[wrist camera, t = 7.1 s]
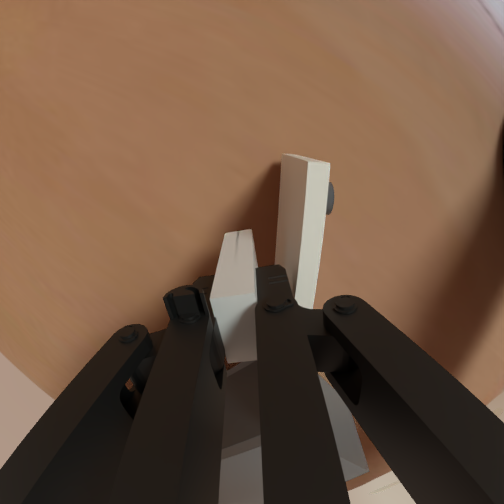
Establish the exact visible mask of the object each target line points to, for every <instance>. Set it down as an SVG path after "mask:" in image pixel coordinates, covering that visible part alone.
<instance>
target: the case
mask: <svg viewBox="0 0 504 504" xmlns="http://www.w3.org/2000/svg"><path fill="white" fill-rule="evenodd" d="M318 376H319V375H318ZM319 380H320V383H321V387H322V391H323V394H324V398H325V402H326V406H327V410H328V413H329V417H330V421H331V425H332V429H333V433H334V437H335V441H336V445H337V449H338V453H339V457H340V461H341V465H342V470H343V474H344V478H345V482H346V481H348V480H351V479H353V478H355V477H358V476H360V475H362V474H365V473H367V472H369V468H368V465H367V461H366V458H365V455H364V452H363V448H362V445H361V442H360V439H359V436H358V433H357V429H356V426H355V423H354V420H353V417H352V414H351V412H350V410H349V409H348V407H347V406H346V405H345V403H344V402H343V400H342V399H341V397H340V396H339V395H338V393H337V392H336V390H335V389H334V388H332V387H331V386H330V385H329V384H328V383H327V382H326V381H325V380H324V379H323V378H322V377H321V376H319ZM218 504H264V499H263V477H262V455H261V434H260V412H259V390H258V369H257V360H254V361H245V362H241V363H239V364H238V365H236V366H234V367H232V368H231V369H229V370H227V383H226V396H225V410H224V424H223V438H222V453H221V469H220V485H219V503H218Z"/></svg>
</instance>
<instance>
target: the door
mask: <svg viewBox="0 0 504 504" xmlns="http://www.w3.org/2000/svg"><path fill="white" fill-rule="evenodd" d="M329 174H330V163H327V162H323V161H320V160H316V159H312V158H308V157H304V156H300V155H295V154H282V157H281V175H280V192H279V208H278V223H277V238H276V252H275V265H277V264H279V265H281V266H282V267H284V268H285V269H286V273H287V276H288V280H289V284H290V287H291V291H292V294H293V298H295V300H296V301H297V302H298V305H300V306H302V307H304V308H308V309H313V303H314V297H315V291H316V284H317V278H318V271H319V264H320V257H321V249H322V241H323V233H324V225H325V216H326V215H329V214H330V213H331V211H332V208H333V204H334V189H333V185H332V183H331V182H329Z"/></svg>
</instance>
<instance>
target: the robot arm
mask: <svg viewBox="0 0 504 504" xmlns="http://www.w3.org/2000/svg"><path fill="white" fill-rule="evenodd" d="M503 157H504V152H503ZM163 300H164V303H165V306H166V309H167V312H168V314H169V317H170V322H169V324H168V327H167V329H164V330H161V331H158V332H154V333H151V334H149V332H148V330H147V328H146V327H145V326H144V325H140V324H132V325H129V326H128V325H127V326H125V327H123V328H121V329H119V330H118V331H117V332H116V333H115V334H114V335H113V336H112V337H111V338H110V339H109V340H108V341H107V342H106V343H105V344H104V345H103V347H102V348H101V349H100V350H99V351H98V352H97V353H96V354H95V355H94V357H93V358H92V359H91V360H90V361H89V362H88V363H87V364H86V365H85V367H84V368H83V369H82V370H81V371H80V372H79V373H78V375H77V376H76V377H75V378H74V379H73V380H72V381H71V383H70V384H69V385H68V386H67V387H66V388H65V390H64V391H63V392H62V393H61V394H60V395H59V397H58V398H57V399H56V400H55V401H54V403H53V404H52V405H51V406H50V407H49V408H48V410H47V411H46V412H45V413H44V414H43V416H42V417H41V418H40V419H39V421H38V422H37V423H36V424H35V425H34V427H33V428H32V429H31V430H30V432H29V433H28V434H27V435H26V437H25V438H24V439H23V441H22V442H21V443H20V444H19V446H18V447H17V448H16V450H15V451H14V452H13V454H12V455H11V456H10V457H9V459H8V460H7V461H6V463H5V464H4V465H3V467H2V468H1V469H0V504H218V503H219V485H220V469H221V453H222V438H223V424H224V410H225V396H226V383H227V370H226V367H225V364H224V358H225V355H226V359H227V362H228V363H236V362H245V361H254V360H257V369H258V390H259V412H260V434H261V455H262V477H263V499H264V504H350V500H349V495H348V491H347V487H346V482H345V478H344V474H343V470H342V465H341V461H340V457H339V453H338V449H337V445H336V441H335V437H334V433H333V429H332V425H331V421H330V417H329V413H328V410H327V406H326V402H325V398H324V394H323V391H322V387H321V383H320V380H319V376H318V372H324V373H325V375H326V377H327V379H328V380H329V382H330V383H331V385H332V386H333V387H334V389H335V390H336V392H337V393H338V395H339V396H340V397H341V399H342V400H343V402H344V403H345V405H346V406H347V407H348V409H349V410H350V412H351V413H352V414H353V416H354V417H355V419H356V420H357V422H358V423H359V424H360V426H361V427H362V429H363V430H364V431H365V433H366V434H367V436H368V437H369V439H370V440H371V441H372V443H373V444H374V446H375V447H376V448H377V450H378V451H379V453H380V454H381V455H382V457H383V458H384V460H385V461H386V462H387V464H388V465H389V467H390V468H391V469H392V471H393V472H394V474H395V475H396V476H397V477H398V479H399V480H400V482H401V483H402V484H403V486H404V487H405V489H406V490H407V492H408V493H409V494H410V496H411V497H412V498H413V499H414V501H415V503H416V504H504V423H503V422H502V421H501V420H500V419H499V418H498V417H497V416H496V415H495V414H494V413H493V412H492V411H490V410H489V409H488V408H487V407H486V406H485V405H484V404H483V403H482V402H481V401H480V400H479V399H478V398H477V397H475V396H474V395H473V394H472V393H471V392H470V391H469V390H468V389H467V388H466V387H464V386H463V385H462V384H461V383H460V382H459V381H458V380H457V379H456V378H454V377H453V376H452V375H451V374H450V373H449V372H448V371H447V370H445V369H444V368H443V367H442V366H441V365H440V364H439V363H437V362H436V361H435V360H434V359H433V358H432V357H431V356H429V355H428V354H427V353H426V352H425V351H424V350H422V349H421V348H420V347H419V346H418V345H417V344H416V343H414V342H413V341H412V340H411V339H410V338H408V337H407V336H406V335H405V334H404V333H403V332H401V331H400V330H399V329H398V328H397V327H395V326H394V325H393V324H392V323H391V322H389V321H388V320H387V319H386V318H385V317H383V316H382V315H381V314H380V313H379V312H377V311H376V310H375V309H374V308H373V307H371V306H370V305H369V304H368V303H367V302H365V301H364V300H362V299H361V298H359V297H356V296H351V295H341V296H336V297H333V298H331V299H329V300H327V302H326V303H325V304H324V306H323V309H308V308H304V307H302V306H300V305H298V302H297V301H296V300H295V298H293V294H292V291H291V287H290V284H289V280H288V276H287V273H286V269H285V268H284V267H282V266H281V265H279V264H277V265H271V266H265V267H258V263H257V257H256V251H255V245H254V240H253V234H252V229H247V230H241V231H235V232H229V233H225V235H224V240H223V244H222V248H221V252H220V256H219V260H218V265H217V269H216V273H215V275H211V276H204V277H199V278H198V279H197V280H196V281H195V282H194V283H193V285H186V286H181V287H178V288H175V289H173V290H171V291H170V292H168V293H167V294H166V295H165V296H164V297H163ZM129 378H130V380H131V381H132V383H133V387H132V388H131V389H130V390H128V389H127V387H126V386H125V383H126V382H127V381H128V379H129Z"/></svg>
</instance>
